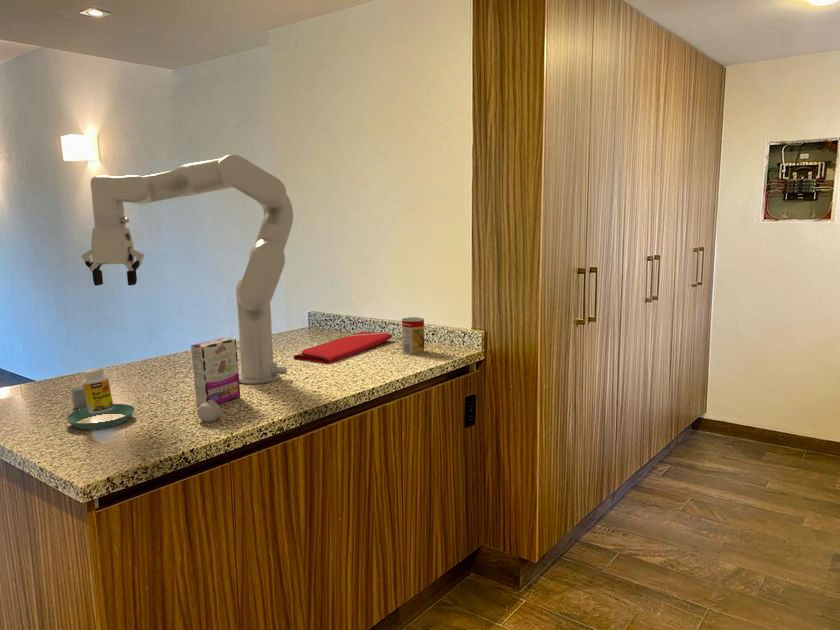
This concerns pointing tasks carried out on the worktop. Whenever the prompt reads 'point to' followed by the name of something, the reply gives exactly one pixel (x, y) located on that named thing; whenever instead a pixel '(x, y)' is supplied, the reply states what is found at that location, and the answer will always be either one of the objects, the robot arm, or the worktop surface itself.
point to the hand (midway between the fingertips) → (115, 284)
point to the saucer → (117, 409)
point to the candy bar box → (216, 371)
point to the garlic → (209, 411)
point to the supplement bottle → (97, 392)
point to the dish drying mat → (343, 347)
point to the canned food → (413, 335)
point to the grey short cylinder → (79, 397)
